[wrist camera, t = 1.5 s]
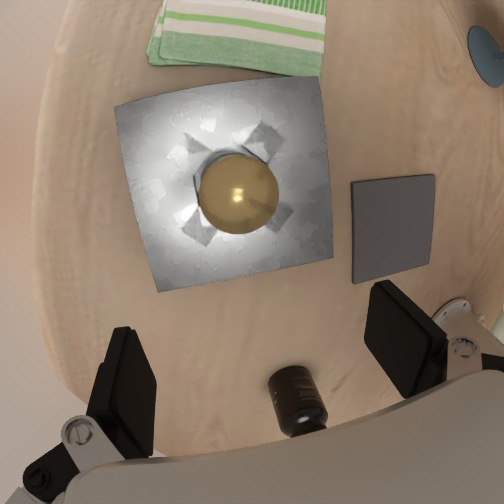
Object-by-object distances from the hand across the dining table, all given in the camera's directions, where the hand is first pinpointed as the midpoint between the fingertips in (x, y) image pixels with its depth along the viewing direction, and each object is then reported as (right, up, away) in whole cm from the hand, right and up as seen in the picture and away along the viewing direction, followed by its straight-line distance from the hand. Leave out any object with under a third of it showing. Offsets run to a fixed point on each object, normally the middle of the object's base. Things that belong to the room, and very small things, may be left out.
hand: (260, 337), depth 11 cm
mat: (+18, +6, +24) cm, 31 cm away
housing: (-3, +11, +19) cm, 22 cm away
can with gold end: (-3, +10, +18) cm, 21 cm away
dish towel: (-1, +32, +11) cm, 34 cm away
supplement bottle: (+5, -16, +32) cm, 36 cm away
